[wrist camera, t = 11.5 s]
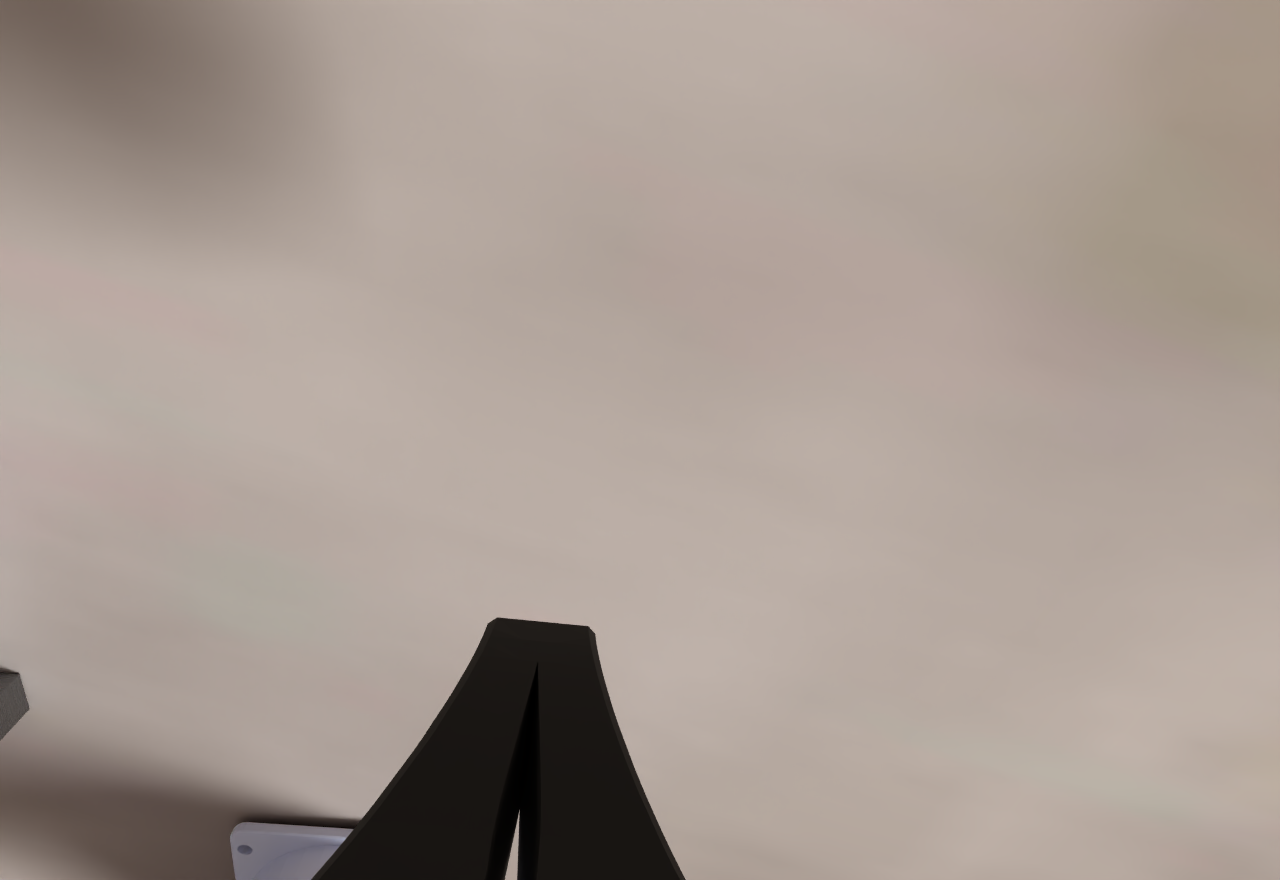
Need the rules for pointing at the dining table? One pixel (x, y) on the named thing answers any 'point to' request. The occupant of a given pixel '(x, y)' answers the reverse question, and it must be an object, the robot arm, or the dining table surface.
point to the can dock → (11, 702)
